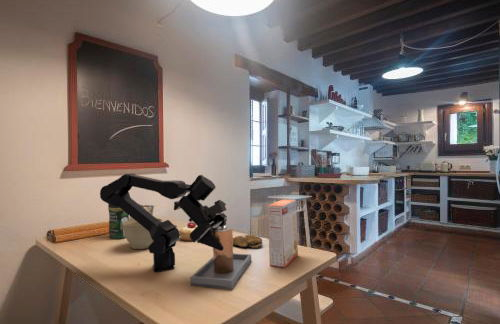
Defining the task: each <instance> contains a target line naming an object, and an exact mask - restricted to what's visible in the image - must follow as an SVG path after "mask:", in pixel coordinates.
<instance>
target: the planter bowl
mask: <svg viewBox="0 0 500 324" xmlns="http://www.w3.org/2000/svg"><path fill="white" fill-rule="evenodd" d="M155 218H156V219H158V220H159V221H161V222H163V219H162V218H157V217H155ZM122 225H123V231H124V235H125V237H126V238H125V239H126V240H127V243H129V244H130V247H131V248H132V249H135V250H143V249H144V250H145V249H148V247H149V246H150V244H151V243H152V242H153V240H152V238H151V235H150V232H149V231H148V230H146V229H145V228H144V227H143V226H142V225H140V224H139V223H138V222H137V221H135V220H134V219H133V218H132V219H129V220H128V221H125V222H123V223H122Z"/></svg>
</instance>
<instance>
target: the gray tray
mask: <svg viewBox="0 0 500 324" xmlns="http://www.w3.org/2000/svg"><path fill="white" fill-rule="evenodd" d="M251 263H252V254H247V253H234V252H233V264H234V270H233V271H232V272H230V273H226V274H218V273H215V272H214V261H213V256H212V257H211V258H210V259H209V260H208V261H206V262H205V264H204V265H202V266H201V267H200V268H199V269H197V270H196V272H194V274H192V275H191V276H190V286H191V287H200V288H213V289H222V290H231V291H232V290H233V289H234V288H235V286H236V285H237V283H238V282H239V280H240V279H241V278H242V276H243V275H244V273H245V272H246V270H247V269H248V267H249V266H250V264H251Z"/></svg>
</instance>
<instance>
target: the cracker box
mask: <svg viewBox="0 0 500 324" xmlns="http://www.w3.org/2000/svg"><path fill="white" fill-rule="evenodd" d="M297 217H298V216H297V199H285V198H284V199H281V200H278V201H276V202H273V203H270V204H268V205H267V220H268V221H267V223H268V225H267V227H268V251H269V266H271V267H277V268H286V267H287V266H288V265H289V264H290V263H291V262H292V261H294V259H295V258H296V257H297V256H298V255H299V247H298V221H297V220H298V219H297Z"/></svg>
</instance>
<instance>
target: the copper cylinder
mask: <svg viewBox="0 0 500 324" xmlns="http://www.w3.org/2000/svg"><path fill="white" fill-rule="evenodd" d="M213 234H214V235H215V237H216V238H217V239H218V241H219V242H220V243H221V245H222V246H223V248H224V249H223V250H222V251H220V250H217V249H215V248H212V251H213V253H212V257H213V261H214V272H215V273H218V274H226V273H230V272H232V271H233V270H234V264H233V253H234V244H233V238H234V236H233V235H234V234H233V228H232V227H231V226H227V224H226V225H224V226H223V227H220V226H218V227H216V228H214V229H213Z"/></svg>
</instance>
